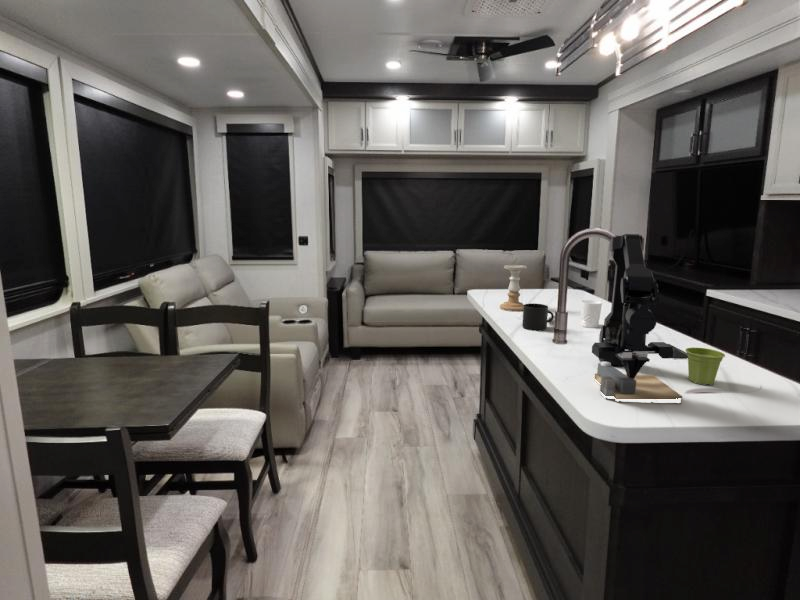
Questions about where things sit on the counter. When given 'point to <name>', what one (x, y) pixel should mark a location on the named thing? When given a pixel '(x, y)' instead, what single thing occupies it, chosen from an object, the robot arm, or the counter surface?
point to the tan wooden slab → (638, 388)
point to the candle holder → (513, 289)
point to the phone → (678, 353)
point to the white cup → (590, 313)
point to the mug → (536, 316)
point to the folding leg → (617, 378)
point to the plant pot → (703, 364)
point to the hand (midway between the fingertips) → (629, 382)
